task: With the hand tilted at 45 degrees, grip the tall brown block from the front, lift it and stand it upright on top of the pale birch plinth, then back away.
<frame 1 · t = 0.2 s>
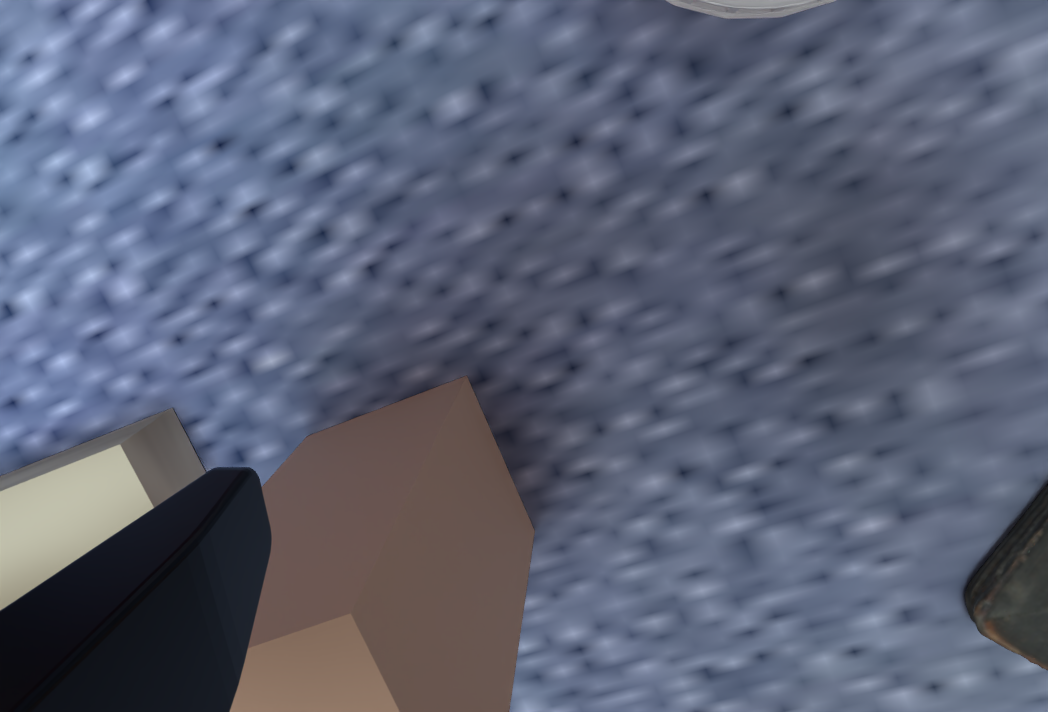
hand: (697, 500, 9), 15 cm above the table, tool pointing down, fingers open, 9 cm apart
brown block: (421, 483, 26), on the table
plinth: (113, 589, 28), on the table
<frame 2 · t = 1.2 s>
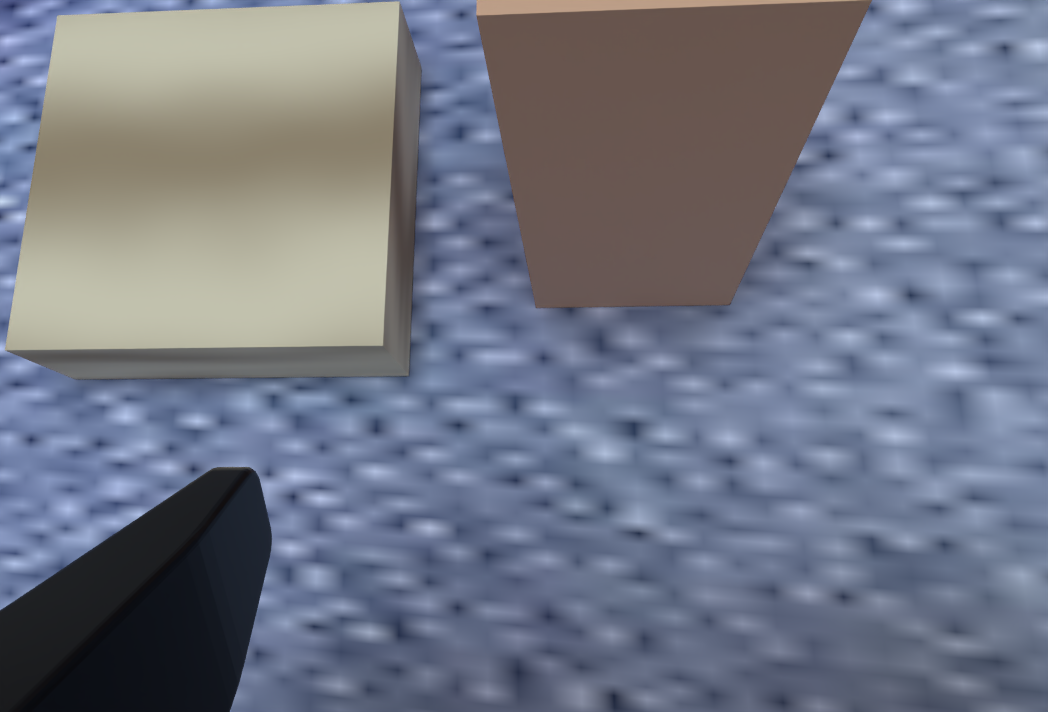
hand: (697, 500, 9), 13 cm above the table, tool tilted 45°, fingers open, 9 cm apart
brown block: (630, 217, 24), on the table
plinth: (253, 218, 25), on the table
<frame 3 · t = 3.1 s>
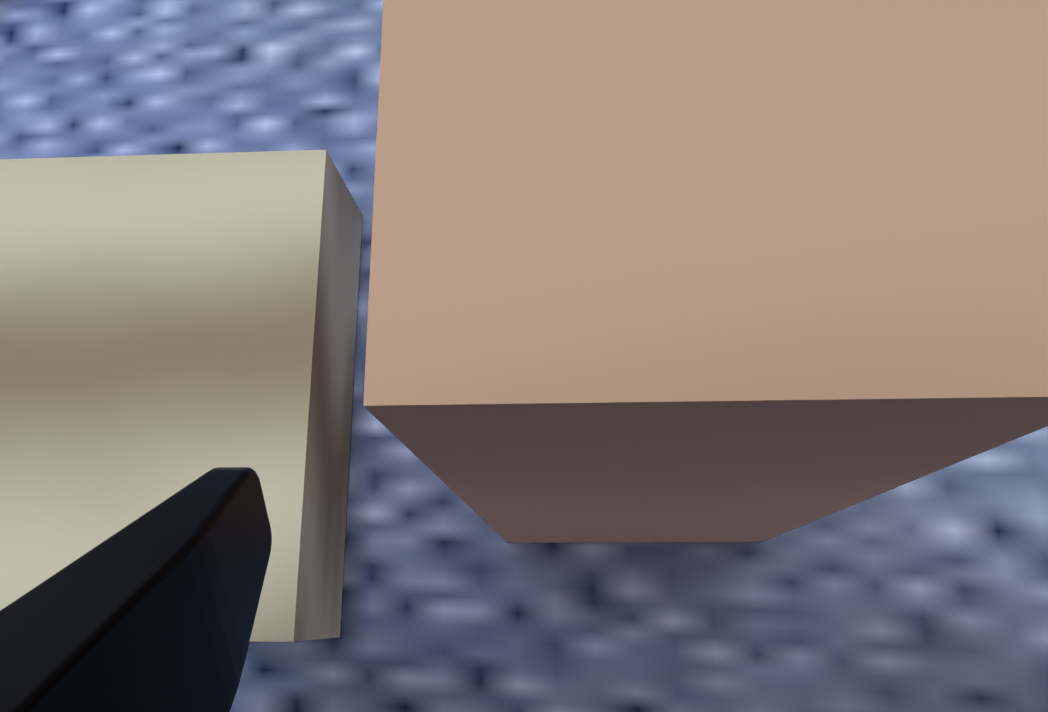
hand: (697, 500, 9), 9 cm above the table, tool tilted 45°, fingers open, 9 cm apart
brown block: (629, 418, 19), on the table
plinth: (143, 415, 19), on the table
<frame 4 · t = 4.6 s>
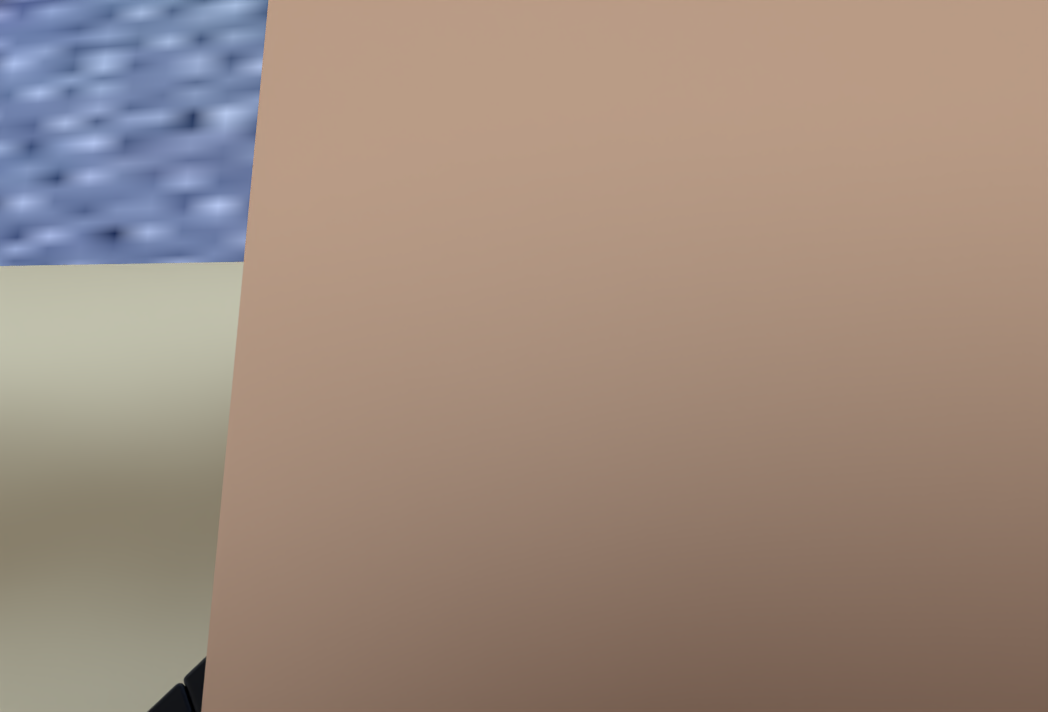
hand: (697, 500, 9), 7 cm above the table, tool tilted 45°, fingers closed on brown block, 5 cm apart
brown block: (653, 581, 15), on the table, touching gripper
plinth: (63, 567, 16), on the table
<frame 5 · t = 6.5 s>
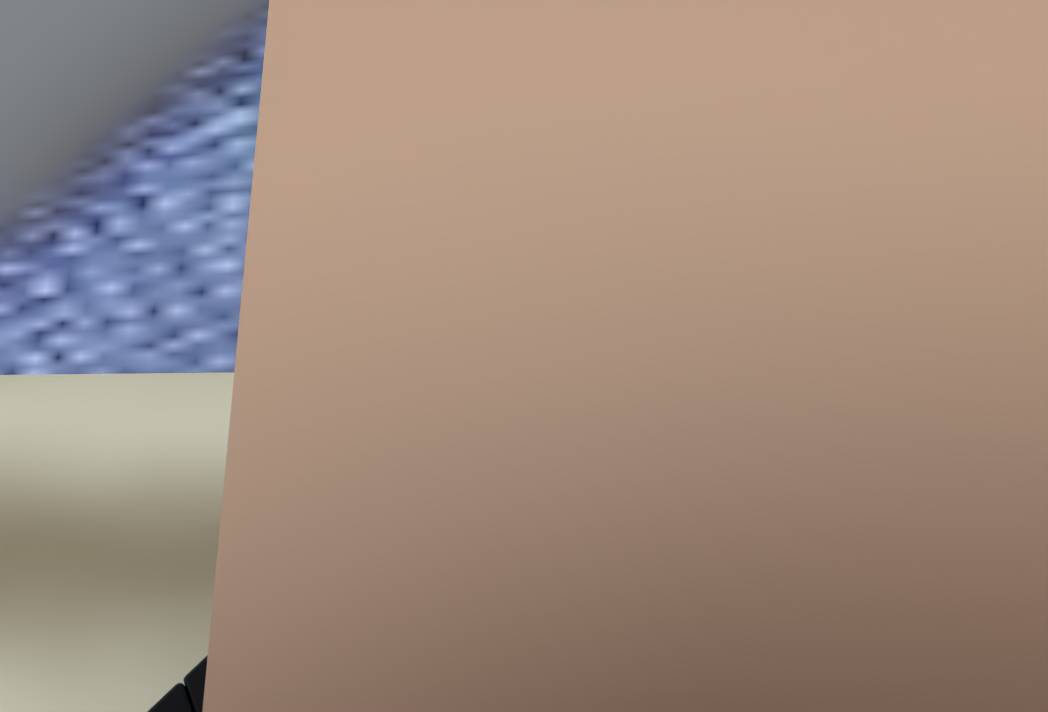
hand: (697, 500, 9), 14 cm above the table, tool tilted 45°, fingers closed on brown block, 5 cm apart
brown block: (653, 581, 15), point 7 cm above the table, touching gripper
plinth: (220, 578, 23), on the table
when the fingers open (11 cm above the table, at t = 8.7 s): brown block drops 1 cm, resting on plinth.
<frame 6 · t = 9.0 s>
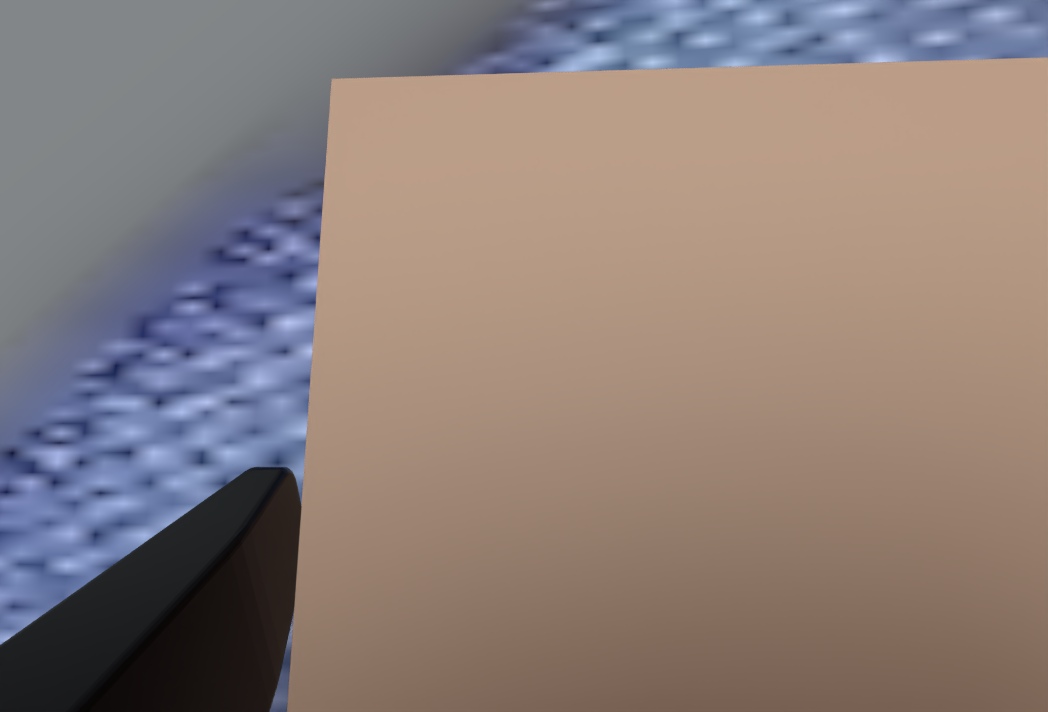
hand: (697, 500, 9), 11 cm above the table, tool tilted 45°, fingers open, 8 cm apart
brown block: (644, 583, 16), point 3 cm above the table, touching plinth
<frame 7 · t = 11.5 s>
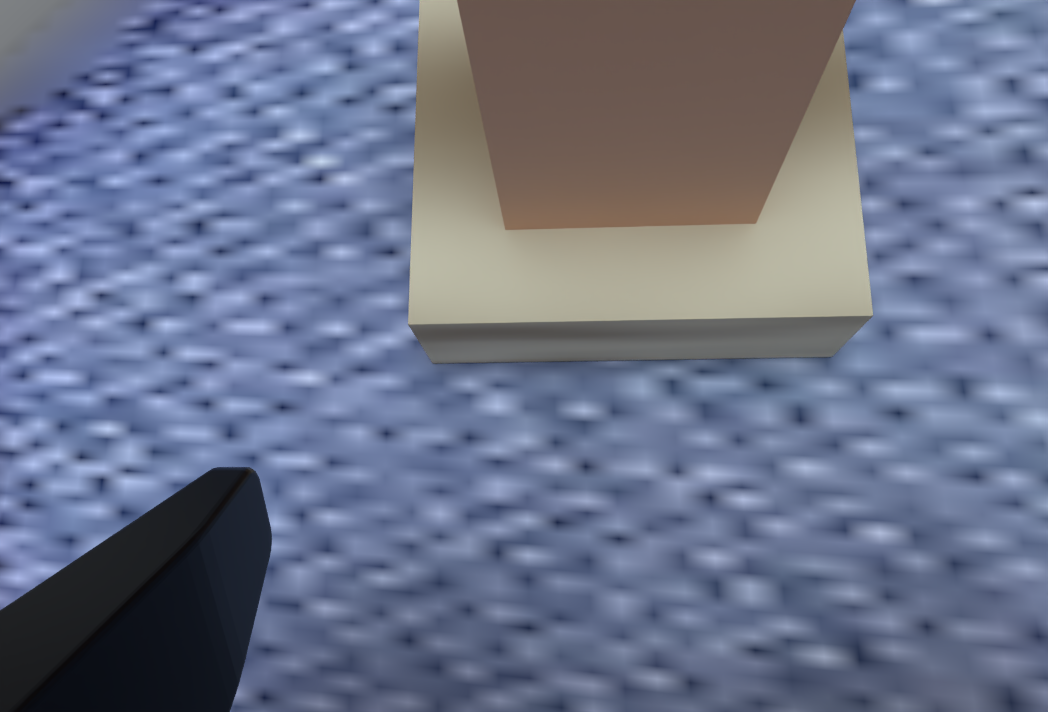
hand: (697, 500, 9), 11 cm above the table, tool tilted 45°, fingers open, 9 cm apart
brown block: (625, 115, 19), point 3 cm above the table, touching plinth
plinth: (623, 178, 22), on the table
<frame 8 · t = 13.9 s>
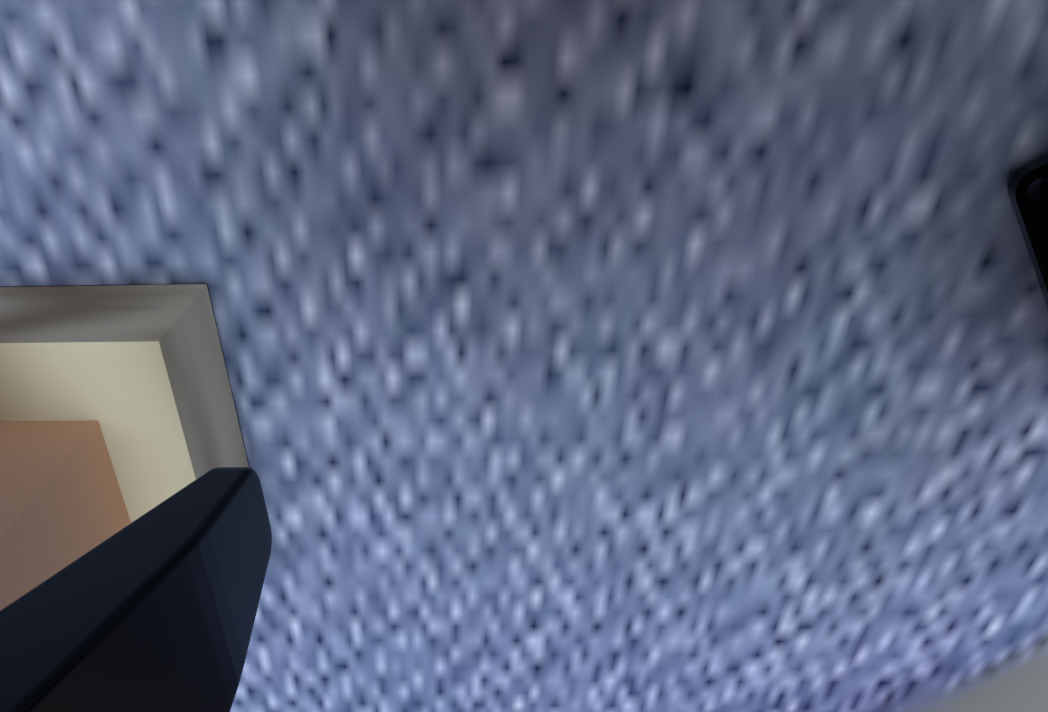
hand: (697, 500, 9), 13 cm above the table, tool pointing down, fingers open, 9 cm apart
brown block: (28, 504, 23), point 3 cm above the table, touching plinth
plinth: (82, 433, 25), on the table
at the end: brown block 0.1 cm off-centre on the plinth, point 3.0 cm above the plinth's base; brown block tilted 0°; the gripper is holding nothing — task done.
